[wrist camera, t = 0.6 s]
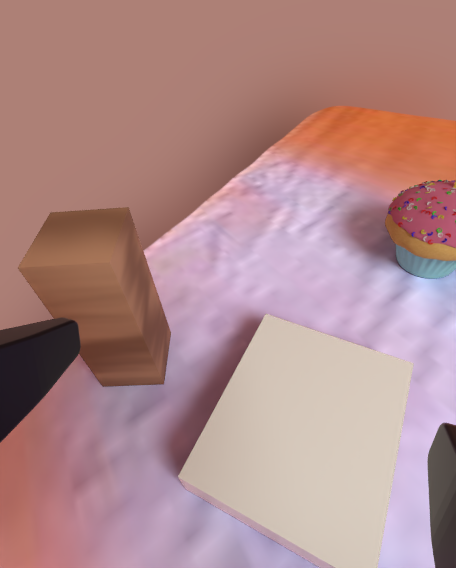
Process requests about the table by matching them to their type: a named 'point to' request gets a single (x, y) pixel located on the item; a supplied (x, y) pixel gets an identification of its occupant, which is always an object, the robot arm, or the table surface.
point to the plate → (306, 443)
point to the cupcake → (425, 228)
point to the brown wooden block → (102, 293)
